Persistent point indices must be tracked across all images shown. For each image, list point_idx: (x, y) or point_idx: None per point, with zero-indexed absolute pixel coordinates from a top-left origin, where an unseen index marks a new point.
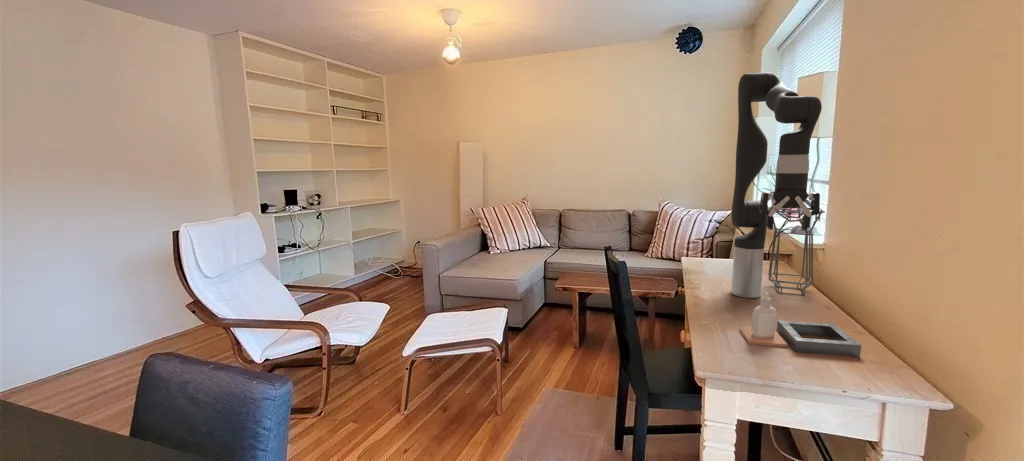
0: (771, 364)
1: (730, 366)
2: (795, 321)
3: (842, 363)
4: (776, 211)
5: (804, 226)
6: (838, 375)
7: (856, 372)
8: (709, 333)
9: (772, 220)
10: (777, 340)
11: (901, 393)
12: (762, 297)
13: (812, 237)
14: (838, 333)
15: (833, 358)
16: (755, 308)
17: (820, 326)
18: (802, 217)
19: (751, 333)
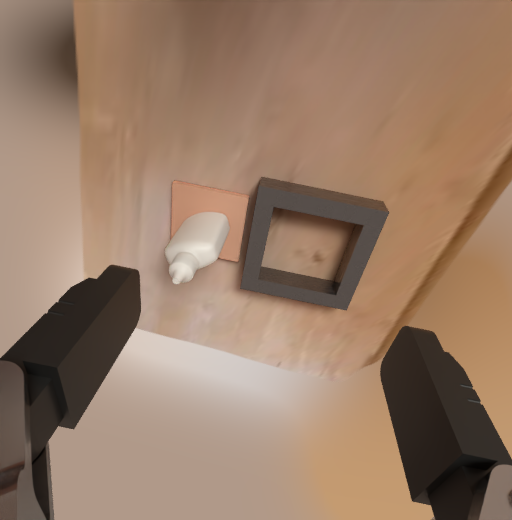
0: (184, 309)
1: None
2: (300, 194)
3: (296, 311)
4: (53, 516)
5: (387, 395)
6: (263, 338)
7: (295, 333)
8: (105, 192)
9: (87, 387)
10: (227, 245)
11: (310, 373)
12: (170, 272)
13: None
14: (349, 263)
15: None
16: (166, 255)
17: (344, 219)
18: (451, 436)
19: (188, 211)
